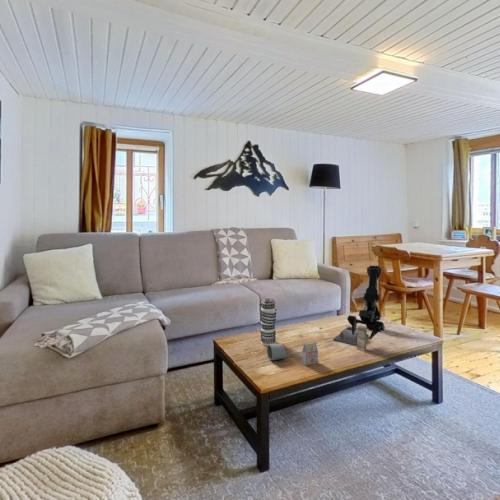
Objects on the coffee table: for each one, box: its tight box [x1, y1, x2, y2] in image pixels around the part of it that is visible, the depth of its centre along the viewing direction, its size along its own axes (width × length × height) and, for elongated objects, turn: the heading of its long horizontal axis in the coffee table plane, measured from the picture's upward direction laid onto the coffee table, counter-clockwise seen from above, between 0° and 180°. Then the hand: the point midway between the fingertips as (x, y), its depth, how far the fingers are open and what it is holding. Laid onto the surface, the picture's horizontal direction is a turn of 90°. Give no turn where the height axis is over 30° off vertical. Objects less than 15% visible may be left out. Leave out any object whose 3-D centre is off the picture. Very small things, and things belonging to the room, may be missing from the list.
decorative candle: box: [259, 297, 277, 347], centre depth 183 cm, size 9×9×25 cm
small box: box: [301, 341, 319, 367], centre depth 160 cm, size 4×7×10 cm, turn 113°
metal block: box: [356, 324, 368, 352], centre depth 175 cm, size 4×4×12 cm
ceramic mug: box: [266, 343, 288, 361], centre depth 166 cm, size 11×8×8 cm
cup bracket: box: [333, 325, 370, 347], centre depth 190 cm, size 18×14×6 cm
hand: (361, 337), depth 174 cm, fingers open, 9 cm apart
